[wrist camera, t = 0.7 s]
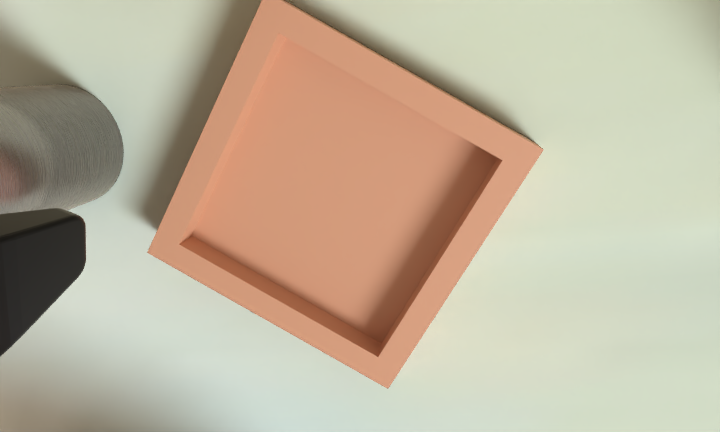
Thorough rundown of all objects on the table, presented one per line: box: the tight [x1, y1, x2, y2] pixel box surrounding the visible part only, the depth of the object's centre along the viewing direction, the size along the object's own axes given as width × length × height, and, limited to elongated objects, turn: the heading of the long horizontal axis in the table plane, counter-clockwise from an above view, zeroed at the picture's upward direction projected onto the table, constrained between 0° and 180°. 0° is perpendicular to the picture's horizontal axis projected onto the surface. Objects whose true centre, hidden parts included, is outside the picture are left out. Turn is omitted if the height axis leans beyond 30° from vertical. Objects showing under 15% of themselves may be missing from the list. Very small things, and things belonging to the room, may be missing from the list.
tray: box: [147, 0, 543, 388], centre depth 23 cm, size 11×11×2 cm
